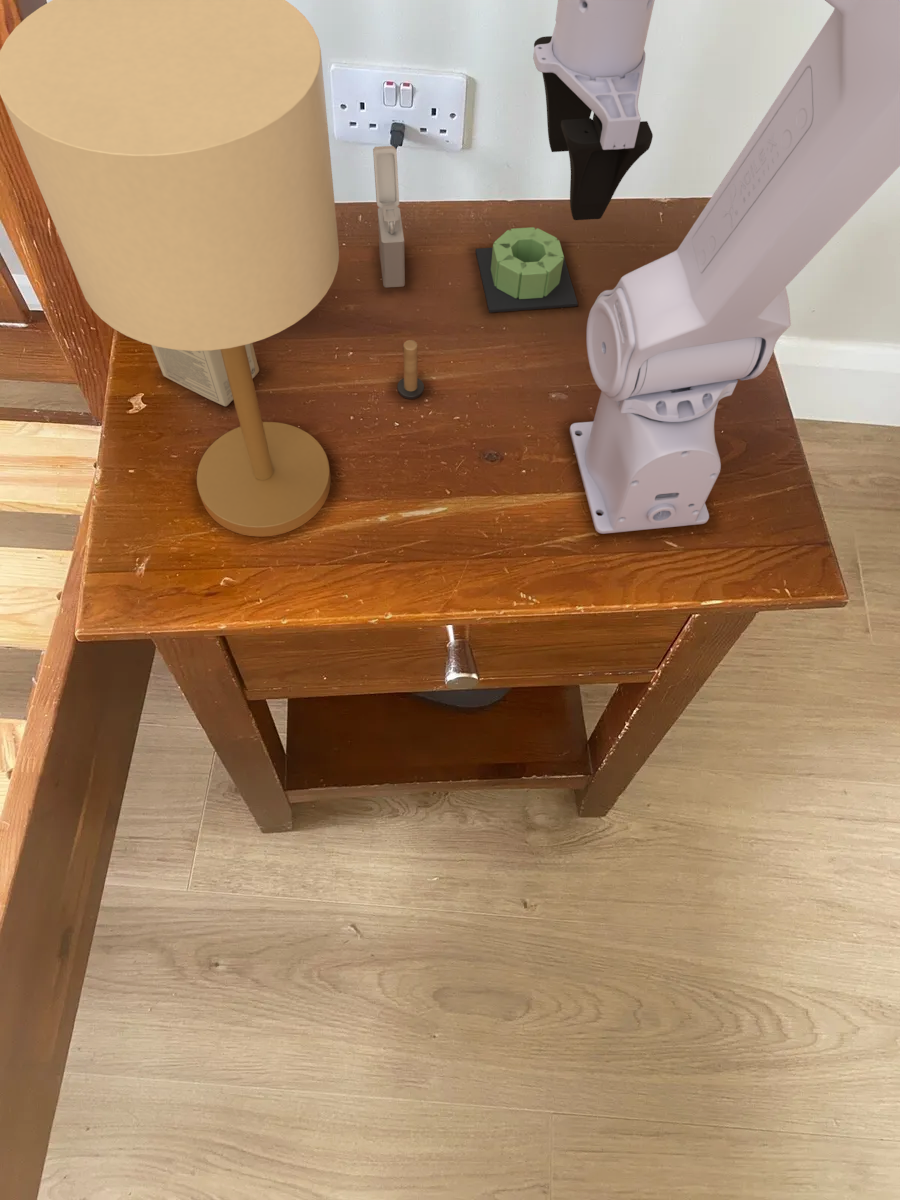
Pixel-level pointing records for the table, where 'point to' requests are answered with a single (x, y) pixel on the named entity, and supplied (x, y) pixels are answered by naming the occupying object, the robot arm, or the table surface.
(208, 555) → the table surface
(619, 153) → the robot arm
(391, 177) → the lighter
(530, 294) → the ring
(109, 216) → the lamp
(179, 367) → the cosmetic box
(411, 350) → the peg
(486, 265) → the coaster
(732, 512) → the table surface
